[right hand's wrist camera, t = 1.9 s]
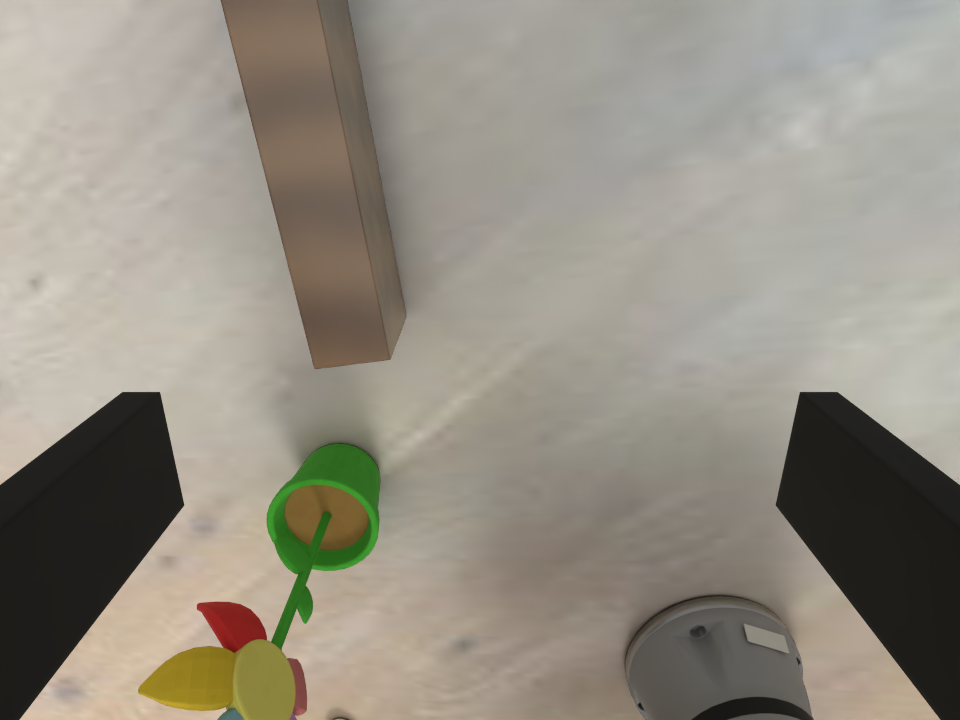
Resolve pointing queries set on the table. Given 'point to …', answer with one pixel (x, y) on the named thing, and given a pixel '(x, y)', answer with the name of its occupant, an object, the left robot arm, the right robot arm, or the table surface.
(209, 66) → the table surface
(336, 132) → the bar
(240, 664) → the potted flower
